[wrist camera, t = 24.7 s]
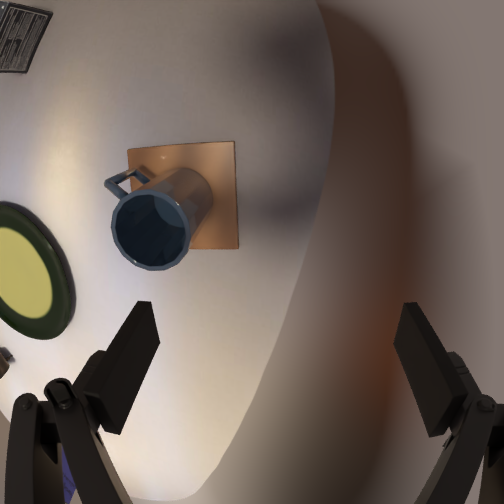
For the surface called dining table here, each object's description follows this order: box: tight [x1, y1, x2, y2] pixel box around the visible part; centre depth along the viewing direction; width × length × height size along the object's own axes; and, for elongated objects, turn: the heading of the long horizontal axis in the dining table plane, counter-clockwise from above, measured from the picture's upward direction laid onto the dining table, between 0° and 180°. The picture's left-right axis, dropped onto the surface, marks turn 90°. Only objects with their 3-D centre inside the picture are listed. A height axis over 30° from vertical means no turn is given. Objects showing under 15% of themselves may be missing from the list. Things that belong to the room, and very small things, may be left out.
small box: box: [0, 1, 52, 73], centre depth 27 cm, size 11×6×10 cm, turn 151°
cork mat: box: [127, 141, 239, 249], centre depth 41 cm, size 14×14×1 cm
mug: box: [104, 168, 213, 271], centre depth 35 cm, size 11×8×12 cm
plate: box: [0, 205, 71, 340], centre depth 47 cm, size 28×28×2 cm
